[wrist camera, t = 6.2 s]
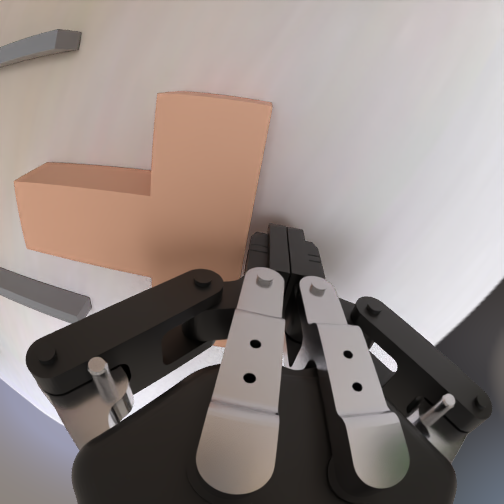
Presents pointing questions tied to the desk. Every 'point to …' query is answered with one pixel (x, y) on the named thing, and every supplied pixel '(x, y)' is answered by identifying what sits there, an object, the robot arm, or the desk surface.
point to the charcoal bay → (6, 281)
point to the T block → (158, 195)
